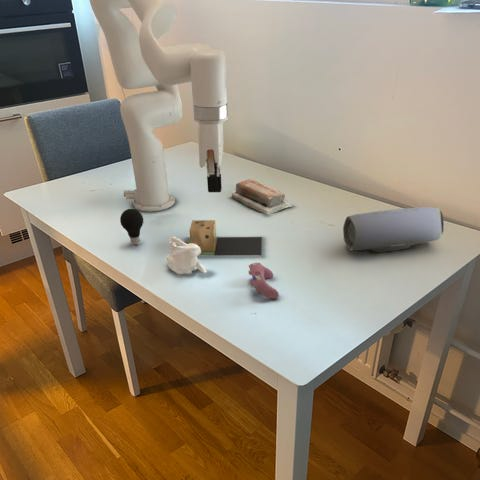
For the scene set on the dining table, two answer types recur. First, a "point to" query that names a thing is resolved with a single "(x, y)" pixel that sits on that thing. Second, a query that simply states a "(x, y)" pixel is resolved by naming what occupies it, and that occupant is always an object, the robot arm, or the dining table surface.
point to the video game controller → (262, 280)
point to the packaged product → (260, 197)
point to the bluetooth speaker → (393, 228)
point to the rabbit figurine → (184, 257)
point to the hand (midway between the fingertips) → (214, 190)
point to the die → (204, 234)
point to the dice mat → (235, 246)
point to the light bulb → (132, 224)
